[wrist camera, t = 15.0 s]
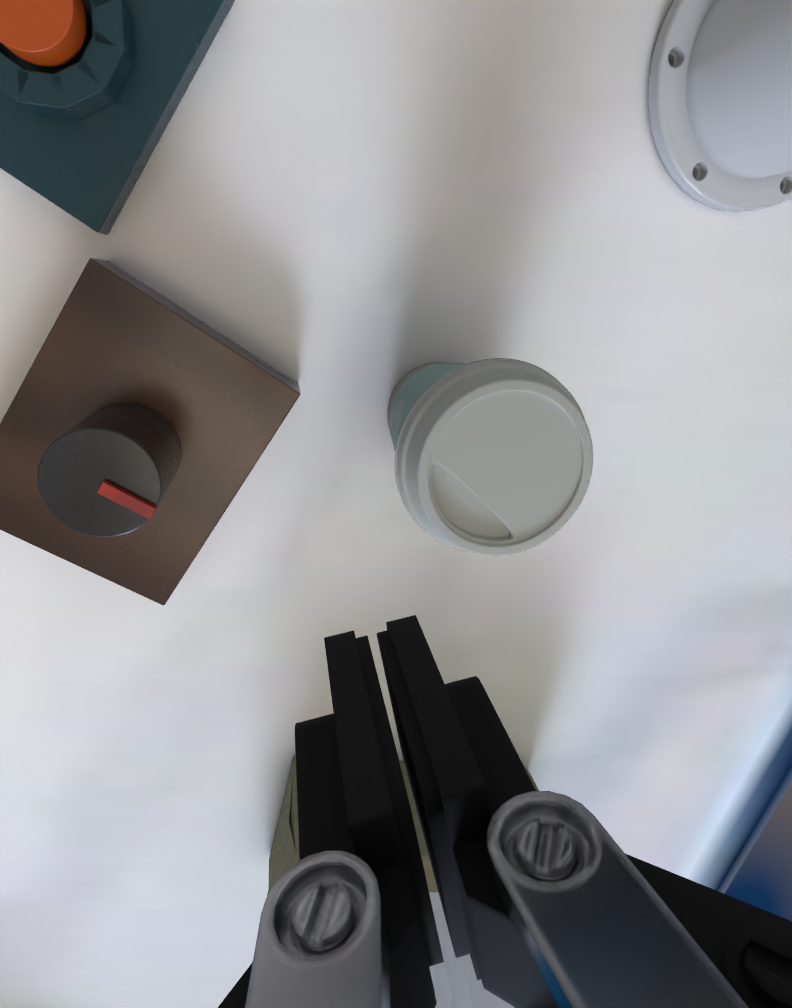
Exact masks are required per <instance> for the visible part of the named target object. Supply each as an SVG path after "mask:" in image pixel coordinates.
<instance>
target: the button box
mask: <svg viewBox="0 0 792 1008" xmlns="http://www.w3.org/2000/svg"><path fill="white" fill-rule="evenodd" d="M234 1H235V0H82V2H83V5H84V9H85V13H86V20H87V29H86V36H85V40H84V43H83V45H82V47H81V49H80V51H79V52H78V53H77V55H76V56H75V57H74V58H73V59H71V60H70V61H68V62H67V63H65V64H62V65H60V66H55V67H41V66H37V65H34V64H31V63H28V62H26V61H24V60H22V59H21V58H19V57H18V56H16V55H15V54H14V53H12V52H11V51H10V50H9V49H8V48H7V47H5V46H4V45H3V44H2V43H1V42H0V168H1V169H3V170H4V171H6V172H7V173H9V174H10V175H12V176H13V177H15V178H16V179H18V180H19V181H21V182H22V183H24V184H25V185H27V186H28V187H30V188H31V189H33V190H34V191H36V192H37V193H39V194H40V195H42V196H43V197H45V198H46V199H48V200H49V201H51V202H52V203H54V204H55V205H57V206H58V207H60V208H61V209H63V210H64V211H66V212H67V213H69V214H70V215H72V216H73V217H75V218H76V219H78V220H80V221H81V222H83V223H84V224H86V225H87V226H89V227H90V228H92V229H93V230H95V231H96V232H99V233H102V234H106V235H107V234H108V233H109V231H110V229H111V227H112V226H113V224H114V222H115V220H116V218H117V216H118V215H119V213H120V211H121V209H122V207H123V205H124V203H125V202H126V200H127V198H128V196H129V194H130V192H131V191H132V189H133V187H134V185H135V183H136V181H137V180H138V178H139V176H140V174H141V172H142V170H143V168H144V167H145V165H146V163H147V161H148V159H149V157H150V156H151V154H152V152H153V150H154V148H155V146H156V145H157V143H158V141H159V139H160V137H161V135H162V133H163V132H164V130H165V128H166V126H167V124H168V122H169V121H170V119H171V117H172V115H173V113H174V111H175V110H176V108H177V106H178V104H179V102H180V100H181V98H182V97H183V95H184V93H185V91H186V89H187V87H188V86H189V84H190V82H191V80H192V78H193V76H194V75H195V73H196V71H197V69H198V67H199V65H200V63H201V62H202V60H203V58H204V56H205V54H206V52H207V51H208V49H209V47H210V45H211V43H212V41H213V40H214V38H215V36H216V34H217V32H218V30H219V28H220V27H221V25H222V23H223V21H224V19H225V17H226V16H227V14H228V12H229V10H230V8H231V6H232V5H233V3H234Z"/></svg>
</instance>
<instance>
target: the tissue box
mask: <svg viewBox="0 0 792 1008" xmlns="http://www.w3.org/2000/svg"><path fill="white" fill-rule="evenodd" d="M399 763H400V767H401V771H402V775H403V779H404V783H405V787H406V791H407V795H408V799H409V803H410V807H411V811H412V816H413V820H414V825H415V829H416V834H417V839H418V843H419V848H420V853H421V857H422V862H423V867H424V871H425V876H426V880H427V885H428V890H429V894H430V899H431V904H432V908H433V913H434V918H435V922H436V927H437V932H438V936H439V941H440V945H441V950H442V955H443V959H444V962H443V963H440V964H436V965H433V966H430V967H429V968H430V973H431V977H432V982H433V986H434V991H435V997H436V1002H437V1004H436V1006H435V1008H513V1006H512V1005H510V1004H509V1003H507V1002H505V1001H504V1000H502V999H500V998H499V997H497V996H496V995H494V994H492V993H491V992H489V991H487V990H486V989H484V988H483V984H482V981H481V979H480V980H477V978H476V974H475V971H474V967H473V964H472V960H471V957H470V954H468V955H465V956H462V957H459V958H456V957H455V953H454V950H453V946H452V942H451V939H450V935H449V931H448V927H447V923H446V920H445V916H444V912H443V908H442V904H441V901H440V897H439V893H438V889H437V885H436V882H435V878H434V874H433V870H432V866H431V862H430V859H429V855H428V851H427V847H426V843H425V840H424V836H423V832H422V828H421V824H420V821H419V817H418V813H417V809H416V805H415V802H414V798H413V794H412V790H411V786H410V783H409V779H408V775H407V771H406V767H405V763H403V762H399ZM526 772H527V774H528V776H529V778H530V780H531V782H532V784H533V786H534V787H535V789H536V791H539V790H538V788H537V786H536V784H535V782H534V780H533V778H532V776H531V775H530V773H529V771H526ZM298 861H300V857H299V830H298V803H297V776H296V756H295V757H294V758H293V761H292V765H291V769H290V773H289V778H288V782H287V786H286V790H285V794H284V799H283V803H282V807H281V811H280V816H279V820H278V824H277V828H276V832H275V837H274V841H273V845H272V849H271V853H270V858H269V890H268V894H269V892H270V891H271V889H272V887H273V886H274V884H275V883H276V881H277V879H278V878H279V877H280V876H281V875H282V874H283V873H285V872H286V871H287V870H288V869H289V868H290V867H291V866H292V865H293V864H295V863H297V862H298ZM268 894H267V895H268Z"/></svg>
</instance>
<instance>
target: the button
mask: <svg viewBox="0 0 792 1008" xmlns="http://www.w3.org/2000/svg"><path fill="white" fill-rule="evenodd" d="M86 29H87V20H86V13H85V9H84V5H83V2H82V0H0V42H1V43H2V44H3V45H4V46H5V47H7V48H8V49H9V50H10V51H11V52H12V53H14V54H15V55H16V56H18V57H19V58H21V59H22V60H24V61H26V62H28V63H31V64H34V65H37V66H41V67H55V66H60V65H62V64H65V63H67V62H68V61H70V60H71V59H73V58H74V57H75V56H76V55H77V53H78V52H79V51H80V49H81V47H82V45H83V43H84V40H85V36H86Z"/></svg>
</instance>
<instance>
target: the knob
mask: <svg viewBox="0 0 792 1008" xmlns="http://www.w3.org/2000/svg"><path fill="white" fill-rule="evenodd" d="M180 460H181V449H180V443H179V440H178V437H177V435H176V433H175V431H174V429H173V428H172V427H171V425H170V424H169V423H168V422H167V421H166V420H165V419H164V418H163V417H162V416H161V415H160V414H158V413H157V412H155V411H154V410H151V409H149V408H147V407H145V406H142V405H138V404H134V403H116V404H111V405H107V406H105V407H102V408H100V409H99V410H97V411H95V412H94V413H92V414H91V415H89V416H88V417H87V418H85V419H84V420H82V421H81V422H79V423H78V424H77V425H75V426H74V427H72V428H71V429H69V430H68V431H66V432H65V433H64V434H62V435H61V436H59V437H58V438H57V439H55V440H54V441H53V442H52V443H51V444H50V445H49V446H48V447H47V448H46V450H45V452H44V453H43V455H42V457H41V459H40V462H39V466H38V471H37V483H38V488H39V492H40V494H41V497H42V499H43V501H44V503H45V505H46V506H47V508H48V509H49V511H50V512H51V513H52V514H53V515H54V516H55V517H56V518H57V519H58V520H59V521H60V522H62V523H63V524H65V525H66V526H68V527H69V528H71V529H73V530H75V531H78V532H80V533H83V534H87V535H91V536H96V537H114V536H120V535H124V534H127V533H130V532H132V531H134V530H136V529H138V528H140V527H141V526H143V525H144V524H145V523H146V522H147V521H148V520H149V519H150V518H151V517H152V516H153V514H154V513H155V511H156V510H157V508H158V506H159V504H160V502H161V500H162V499H163V497H164V495H165V493H166V491H167V489H168V487H169V486H170V484H171V482H172V480H173V478H174V476H175V474H176V472H177V470H178V468H179V465H180Z"/></svg>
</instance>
